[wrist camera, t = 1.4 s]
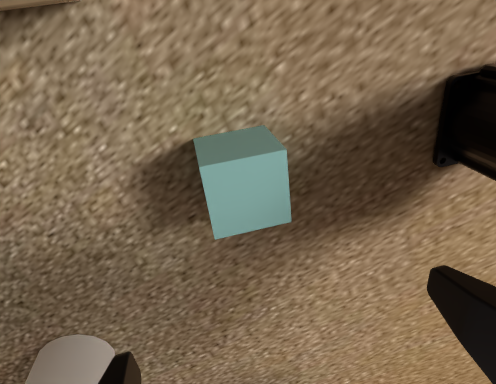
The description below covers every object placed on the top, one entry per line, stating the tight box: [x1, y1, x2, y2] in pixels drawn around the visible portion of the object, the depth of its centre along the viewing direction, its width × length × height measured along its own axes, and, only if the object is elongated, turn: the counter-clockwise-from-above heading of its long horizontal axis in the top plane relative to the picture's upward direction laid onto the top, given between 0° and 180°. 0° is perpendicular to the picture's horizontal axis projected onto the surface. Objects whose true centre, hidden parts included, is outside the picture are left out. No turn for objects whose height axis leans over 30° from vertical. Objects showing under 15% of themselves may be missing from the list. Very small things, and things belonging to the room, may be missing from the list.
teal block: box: [193, 125, 291, 240], centre depth 19 cm, size 4×4×4 cm
